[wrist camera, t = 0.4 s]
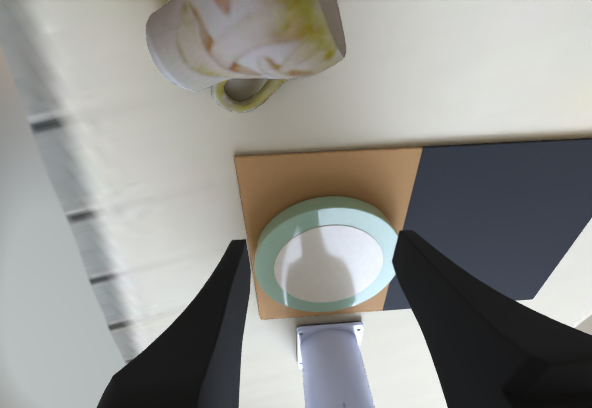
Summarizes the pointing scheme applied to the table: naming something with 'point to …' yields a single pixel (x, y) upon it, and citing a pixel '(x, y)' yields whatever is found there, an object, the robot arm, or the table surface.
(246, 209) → the desk mat
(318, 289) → the plate
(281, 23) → the mug
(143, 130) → the table surface
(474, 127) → the table surface
